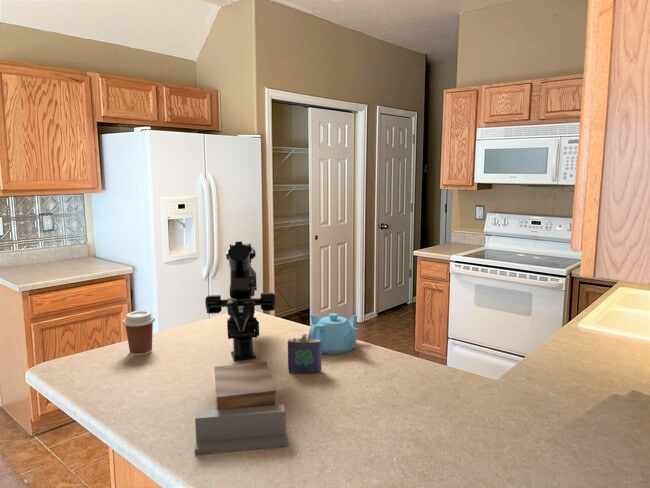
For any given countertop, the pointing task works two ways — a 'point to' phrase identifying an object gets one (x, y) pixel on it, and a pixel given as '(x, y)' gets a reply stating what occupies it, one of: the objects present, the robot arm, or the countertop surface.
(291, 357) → the flask
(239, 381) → the recipe box
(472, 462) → the countertop surface
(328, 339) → the teapot
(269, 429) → the gray flanged bar
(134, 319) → the coffee cup
